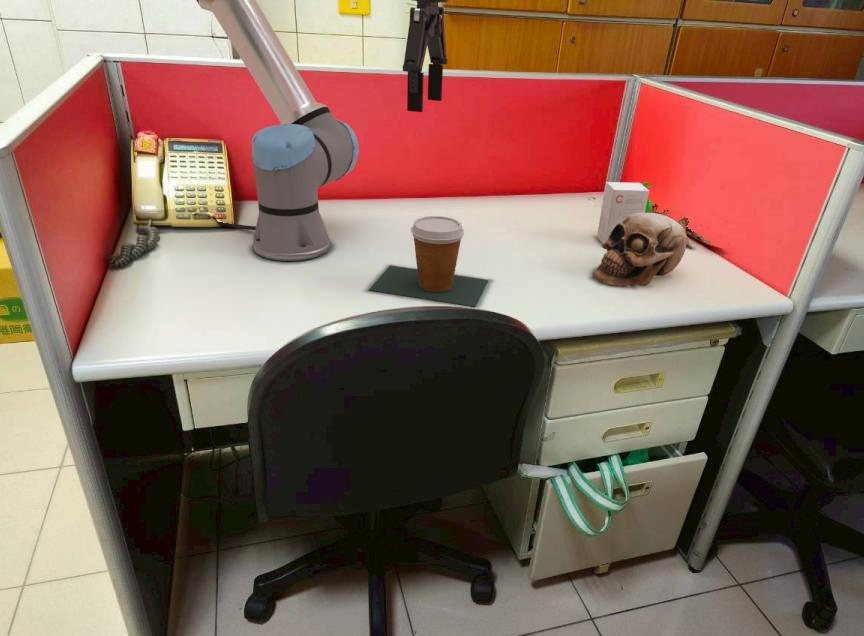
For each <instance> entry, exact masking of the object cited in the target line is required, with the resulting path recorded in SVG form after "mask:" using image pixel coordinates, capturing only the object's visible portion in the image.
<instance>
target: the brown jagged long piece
mask: <svg viewBox="0 0 864 636" xmlns="http://www.w3.org/2000/svg"><path fill="white" fill-rule="evenodd" d="M678 223H679V224H680V225H681V226H682V227H683V229H684V231H685V235H686V248H688V249H693V247H692V244H691V243H690V241H689V238H688V236H690V237H691V238H693V239H696V240H697V241H699V242H701V243H703V244H704V245H706V246H708V247H709V246H710V247H711V248H715V249H718V248H717V247H715V246H712V245H710V244H708V243H711V242H710V241H711V240H706V239H705V238H704V237H703V236H702V235H699V234H697V233H695V232H694V231H693V232H692V231H691V229H688V227H686V226H687V225H688V223H689V220H688V218H685V217H684V218H683V219H681V220H680V219H679V221H678ZM690 233H691V234H690ZM687 235H688V236H687ZM704 241H706V242H708V243H706V242H704Z"/></svg>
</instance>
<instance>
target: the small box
mask: <svg viewBox="0 0 864 636" xmlns="http://www.w3.org/2000/svg"><path fill="white" fill-rule="evenodd" d="M649 195H650V190H649V189H648V187H647V188H646V186H643V183H641V182H623V181H622V182H621V181H620V182H619V181H606V182H605V186H604V191H603V198H602V204H601V209H600V215H599V220H598V221H599V222H598V228H597V234H596V238H597V239H598V241H600V242H601V244H602V245H603V244H604V243H605V242H606V241H607V240H608V238H609V236H610V234H611V232H612V230H613V229H614V227H615V226H616V225H617V224H619V223H622V222H623V221H624V220H625V219H626V218H627V217H628V216H630V215H631V214H634V213H645V209H646V204H647V200H649Z"/></svg>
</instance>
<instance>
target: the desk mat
mask: <svg viewBox="0 0 864 636" xmlns="http://www.w3.org/2000/svg"><path fill="white" fill-rule="evenodd" d="M488 282H489V279H484V278H478V277H472V276H465V275H458V274H454V279H453V284H452V288H451V289H449V290H447V291H444V292H430V291H426V290H424V289H422V288H420V286H419V280H418V271H417V268H411V267H404V266H396V265H389V266H388V267H387V268H386V269H385V270H384V271H383V273H382V274H381V275H380V276H379V277H378V278H377V279H376V280H375V282H374V283H373V284H372V286H370V288H368V291H370V292H377V293H382V294H383V293H384V294H390V295H396V296H401V297H409V298H415V299H422V300H427V301H434V302H441V303H446V304H447V303H448V304H453V305H460V306H465V307H473V308H476V306H477V305H478V303H479V301H480V298H481V296H482V294H483V292H484V290H485V288H486V286H487V284H488Z"/></svg>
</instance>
